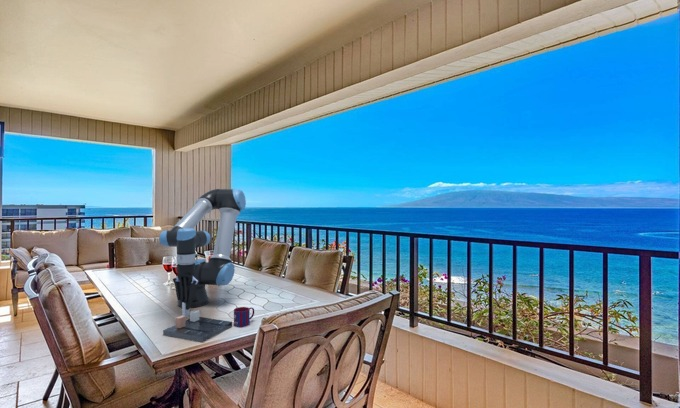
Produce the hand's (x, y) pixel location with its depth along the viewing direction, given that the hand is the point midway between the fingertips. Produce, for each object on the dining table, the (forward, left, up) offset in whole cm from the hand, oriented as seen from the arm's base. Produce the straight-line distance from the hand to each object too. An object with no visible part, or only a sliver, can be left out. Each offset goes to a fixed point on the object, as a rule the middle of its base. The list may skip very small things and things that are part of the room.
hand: (185, 316), depth 150 cm
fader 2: (+5, 0, -1) cm, 5 cm away
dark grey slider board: (+11, -4, -4) cm, 12 cm away
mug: (+24, +10, -4) cm, 26 cm away
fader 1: (+5, -8, -1) cm, 9 cm away
